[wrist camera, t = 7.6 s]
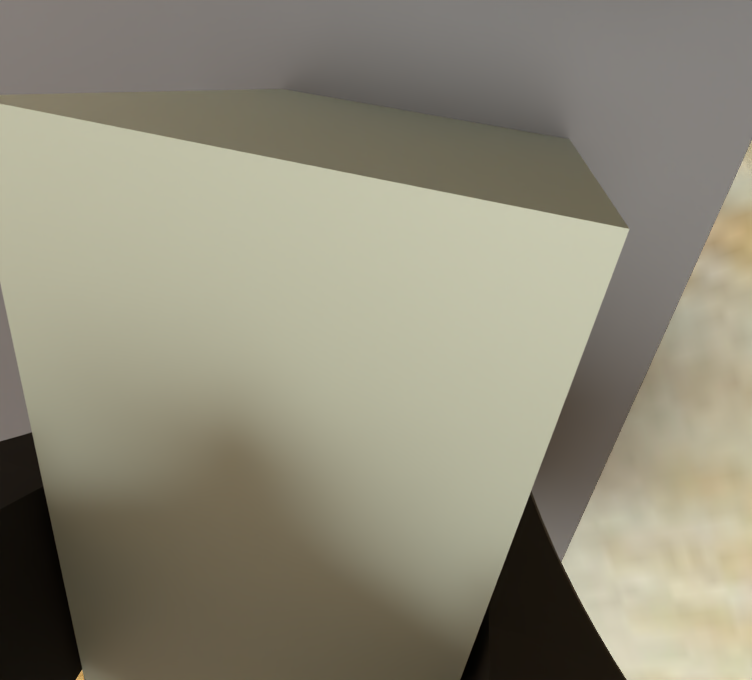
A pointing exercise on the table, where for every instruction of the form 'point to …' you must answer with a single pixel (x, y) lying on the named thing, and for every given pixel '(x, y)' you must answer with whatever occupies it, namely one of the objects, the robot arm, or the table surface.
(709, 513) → the table surface
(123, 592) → the pale green block
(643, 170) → the mounting board
